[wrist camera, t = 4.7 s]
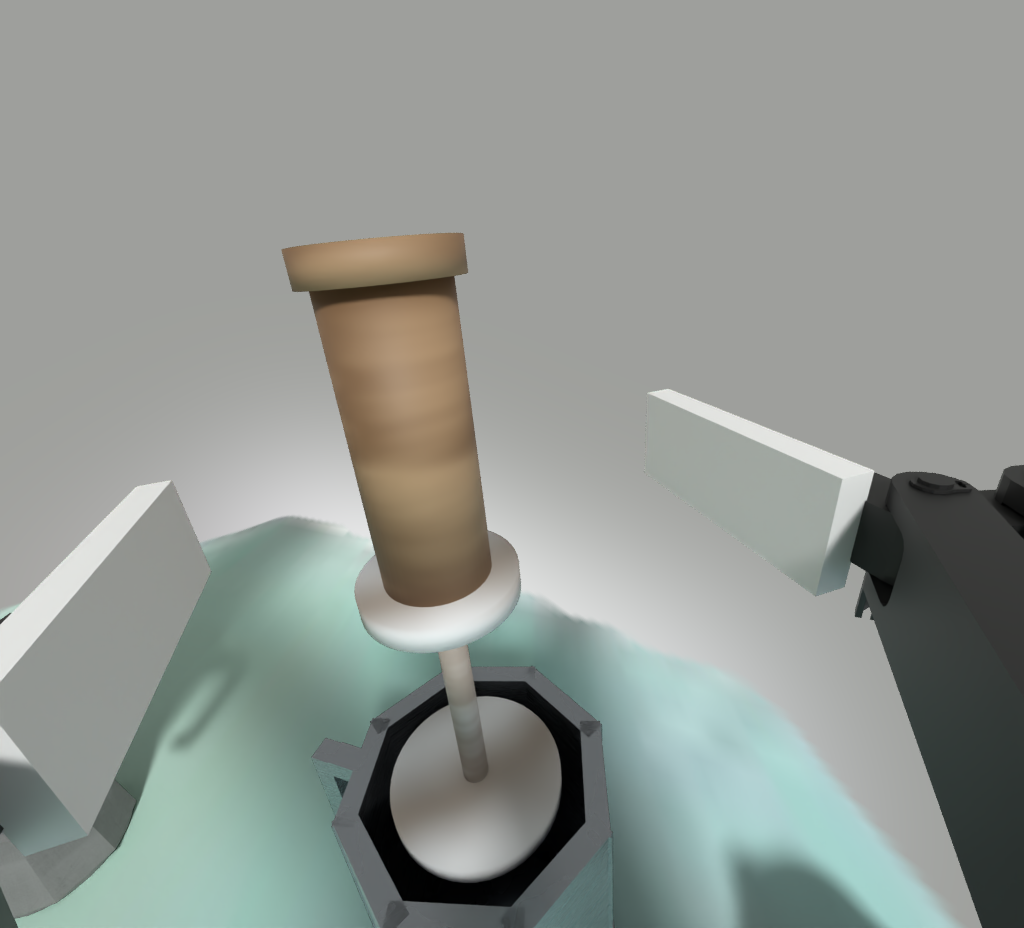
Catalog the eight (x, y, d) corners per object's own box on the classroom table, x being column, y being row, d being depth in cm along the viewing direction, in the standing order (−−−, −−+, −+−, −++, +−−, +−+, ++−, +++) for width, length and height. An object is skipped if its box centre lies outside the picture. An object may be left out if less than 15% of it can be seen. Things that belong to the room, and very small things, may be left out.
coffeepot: (-84, 916, 32) (-290, 744, 25) (52, 777, 41) (-72, 618, 34) (109, 942, 30) (-55, 762, 23) (211, 789, 39) (115, 622, 31)
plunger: (364, 777, 23) (185, 261, 13) (491, 681, 28) (426, 243, 18) (455, 937, 17) (258, 239, 8) (597, 783, 22) (585, 220, 12)
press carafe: (347, 890, 32) (277, 730, 25) (497, 758, 39) (473, 607, 32) (489, 1216, 20) (429, 1084, 14) (661, 946, 28) (676, 774, 21)
